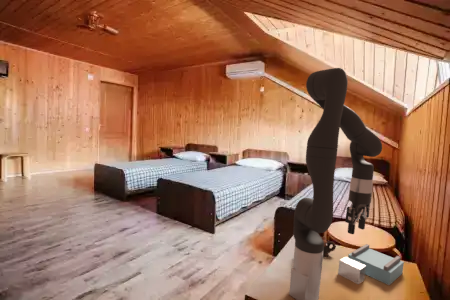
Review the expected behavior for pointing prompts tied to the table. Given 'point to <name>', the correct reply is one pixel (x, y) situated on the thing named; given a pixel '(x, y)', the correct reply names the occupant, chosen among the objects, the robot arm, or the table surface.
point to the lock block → (352, 270)
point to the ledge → (378, 264)
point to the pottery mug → (328, 246)
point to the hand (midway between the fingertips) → (356, 231)
